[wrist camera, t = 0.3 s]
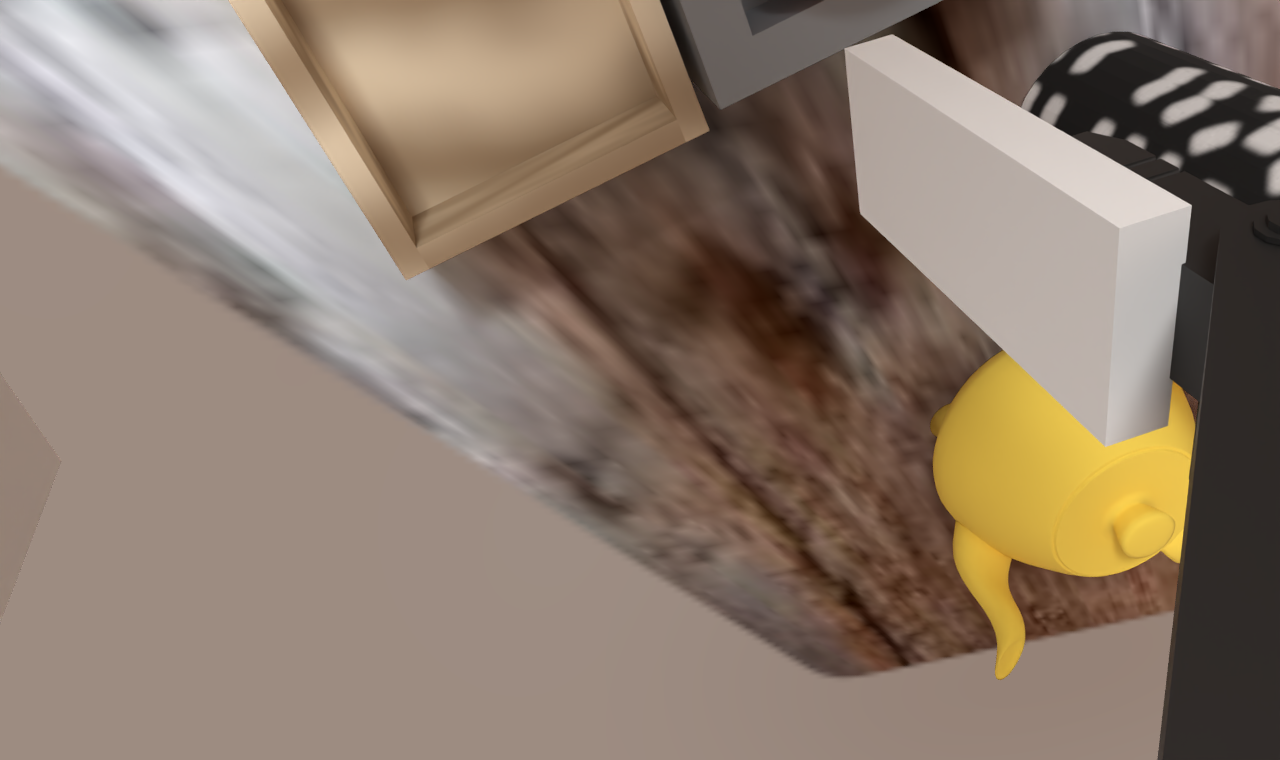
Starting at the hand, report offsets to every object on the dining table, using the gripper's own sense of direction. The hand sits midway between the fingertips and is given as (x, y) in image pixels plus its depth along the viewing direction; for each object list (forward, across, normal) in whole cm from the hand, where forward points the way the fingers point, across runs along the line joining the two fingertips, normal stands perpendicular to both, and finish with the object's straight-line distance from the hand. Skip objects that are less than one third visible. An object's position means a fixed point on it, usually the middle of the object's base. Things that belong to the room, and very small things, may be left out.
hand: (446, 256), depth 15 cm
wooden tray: (+27, +2, -1) cm, 27 cm away
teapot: (+27, +25, -31) cm, 48 cm away
